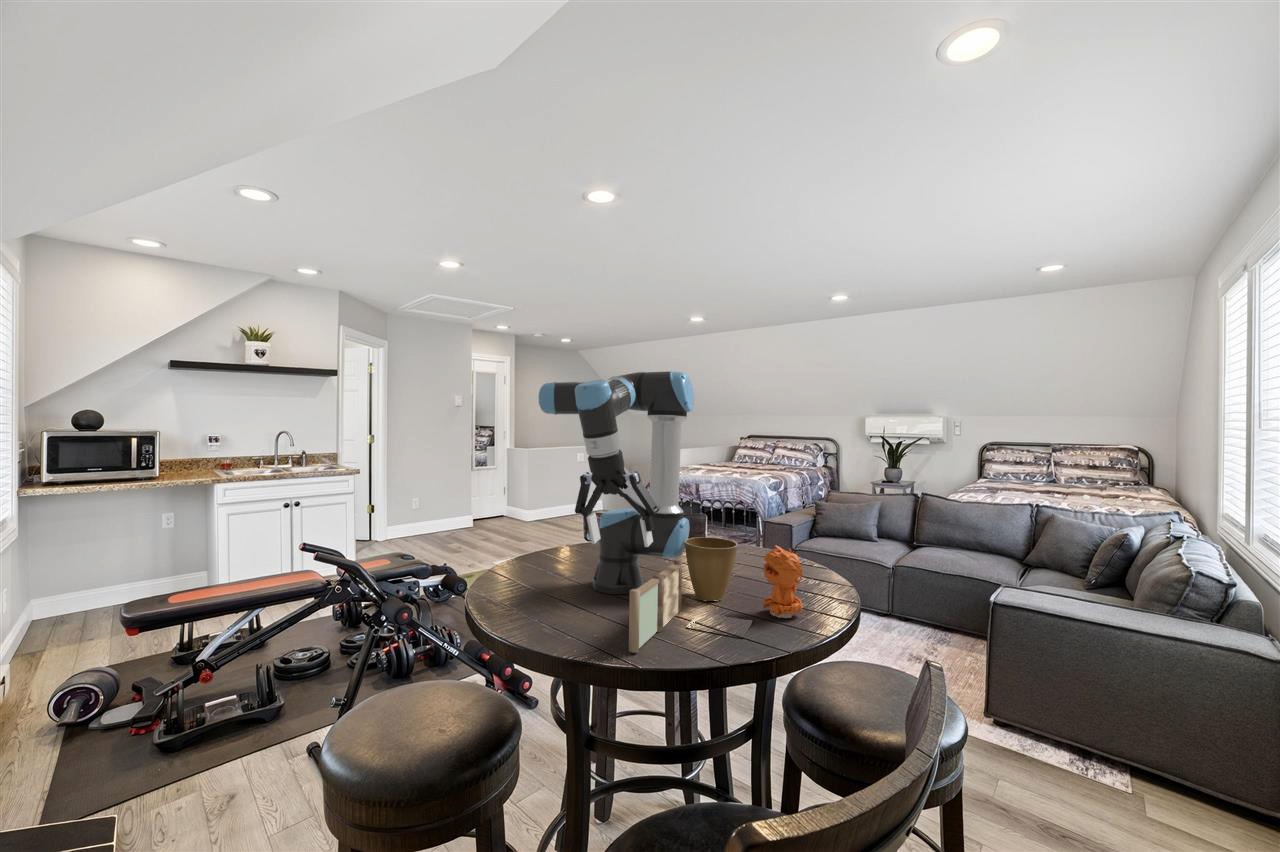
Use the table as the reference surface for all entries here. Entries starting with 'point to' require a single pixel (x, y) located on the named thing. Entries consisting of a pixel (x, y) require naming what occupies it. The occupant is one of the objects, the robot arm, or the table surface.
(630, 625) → the fence gate
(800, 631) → the table surface
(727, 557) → the plant pot
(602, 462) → the robot arm
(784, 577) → the orange figurine
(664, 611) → the fence fixed
